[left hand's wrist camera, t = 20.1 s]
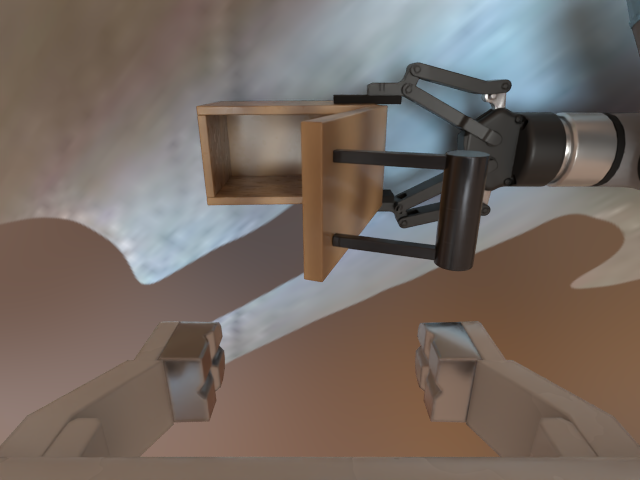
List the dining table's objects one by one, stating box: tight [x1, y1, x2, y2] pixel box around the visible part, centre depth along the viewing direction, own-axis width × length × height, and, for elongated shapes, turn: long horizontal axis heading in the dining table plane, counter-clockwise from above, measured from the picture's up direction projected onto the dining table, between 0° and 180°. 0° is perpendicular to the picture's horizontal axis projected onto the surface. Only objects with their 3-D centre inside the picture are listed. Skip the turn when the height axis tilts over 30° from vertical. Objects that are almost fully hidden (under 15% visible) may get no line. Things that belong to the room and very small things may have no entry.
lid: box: [301, 105, 490, 282], centre depth 28 cm, size 17×9×10 cm
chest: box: [197, 101, 377, 205], centre depth 42 cm, size 17×9×10 cm, turn 90°
